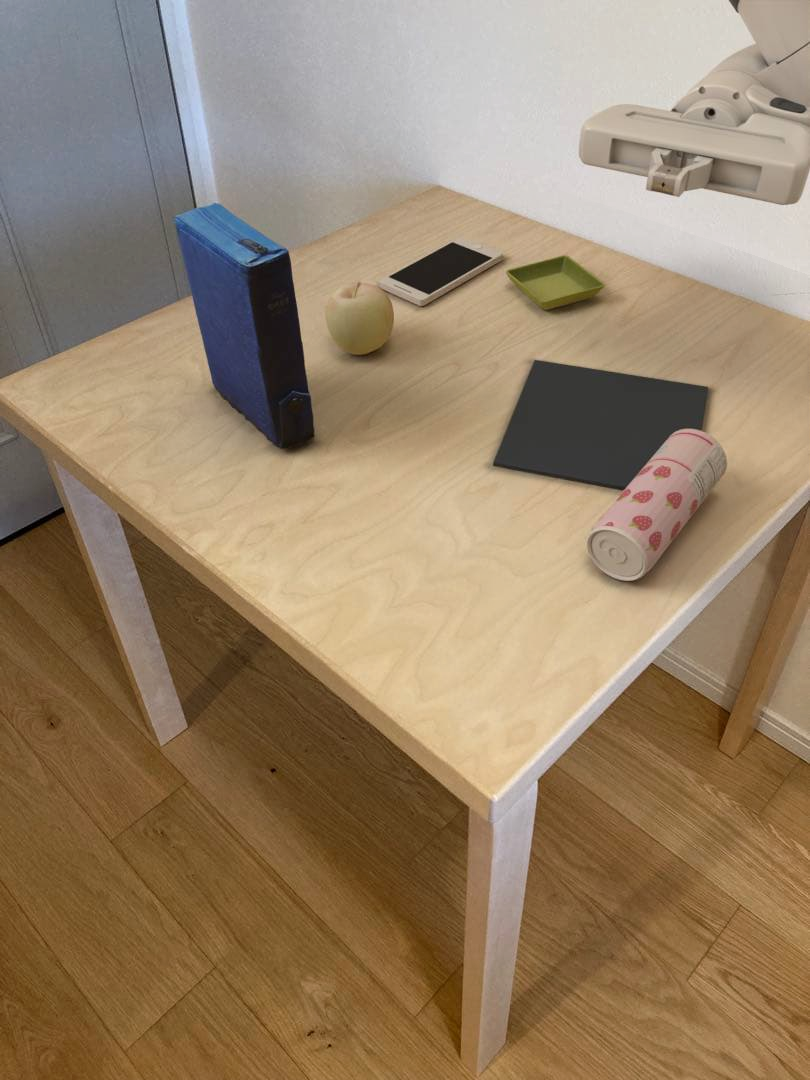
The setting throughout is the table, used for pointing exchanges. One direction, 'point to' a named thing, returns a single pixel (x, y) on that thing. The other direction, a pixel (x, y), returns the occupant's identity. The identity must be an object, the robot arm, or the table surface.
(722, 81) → the robot arm
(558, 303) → the saucer
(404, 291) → the smartphone
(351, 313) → the fruit
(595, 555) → the beverage can
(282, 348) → the book
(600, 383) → the mat
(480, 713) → the table surface
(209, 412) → the table surface
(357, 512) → the table surface
